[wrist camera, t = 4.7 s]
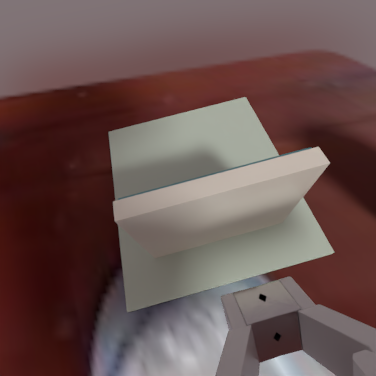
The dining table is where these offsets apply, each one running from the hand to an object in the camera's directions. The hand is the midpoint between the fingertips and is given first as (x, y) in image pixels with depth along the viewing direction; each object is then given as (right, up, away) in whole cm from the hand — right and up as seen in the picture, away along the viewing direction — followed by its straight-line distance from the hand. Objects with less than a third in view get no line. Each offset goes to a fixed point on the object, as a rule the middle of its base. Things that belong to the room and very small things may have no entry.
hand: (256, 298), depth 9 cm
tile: (-1, +1, +8) cm, 8 cm away
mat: (-2, +5, +11) cm, 12 cm away
